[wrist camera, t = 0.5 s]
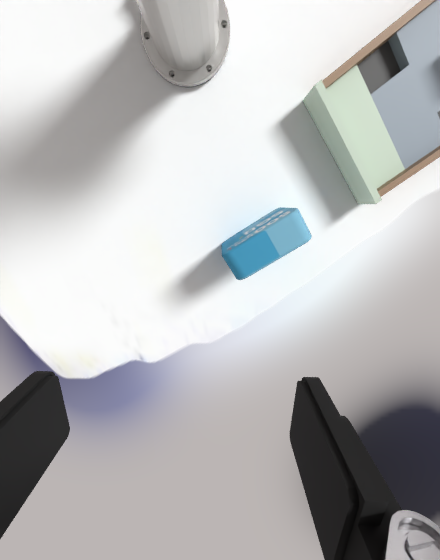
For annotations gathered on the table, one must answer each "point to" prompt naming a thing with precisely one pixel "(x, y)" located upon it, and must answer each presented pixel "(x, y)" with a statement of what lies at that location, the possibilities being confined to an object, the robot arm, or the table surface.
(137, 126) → the table surface
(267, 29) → the table surface
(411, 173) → the box
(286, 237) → the data package
